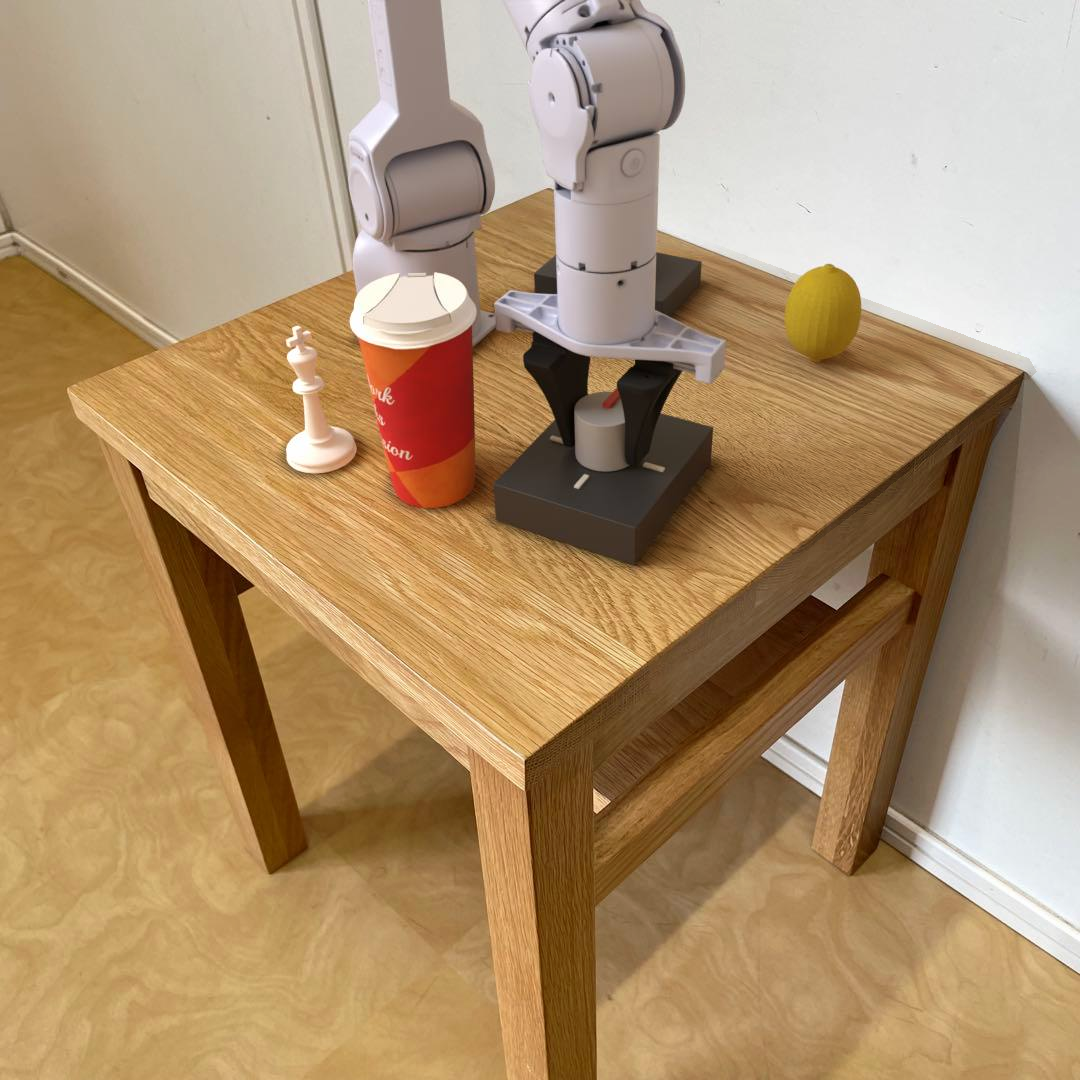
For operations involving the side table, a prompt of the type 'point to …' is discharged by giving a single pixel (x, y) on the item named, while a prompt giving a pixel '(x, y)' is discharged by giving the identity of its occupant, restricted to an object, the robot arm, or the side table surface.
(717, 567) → the side table surface
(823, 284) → the lemon
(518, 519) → the panel
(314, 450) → the chess piece
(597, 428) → the timer dial
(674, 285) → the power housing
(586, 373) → the robot arm
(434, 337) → the paper cup
